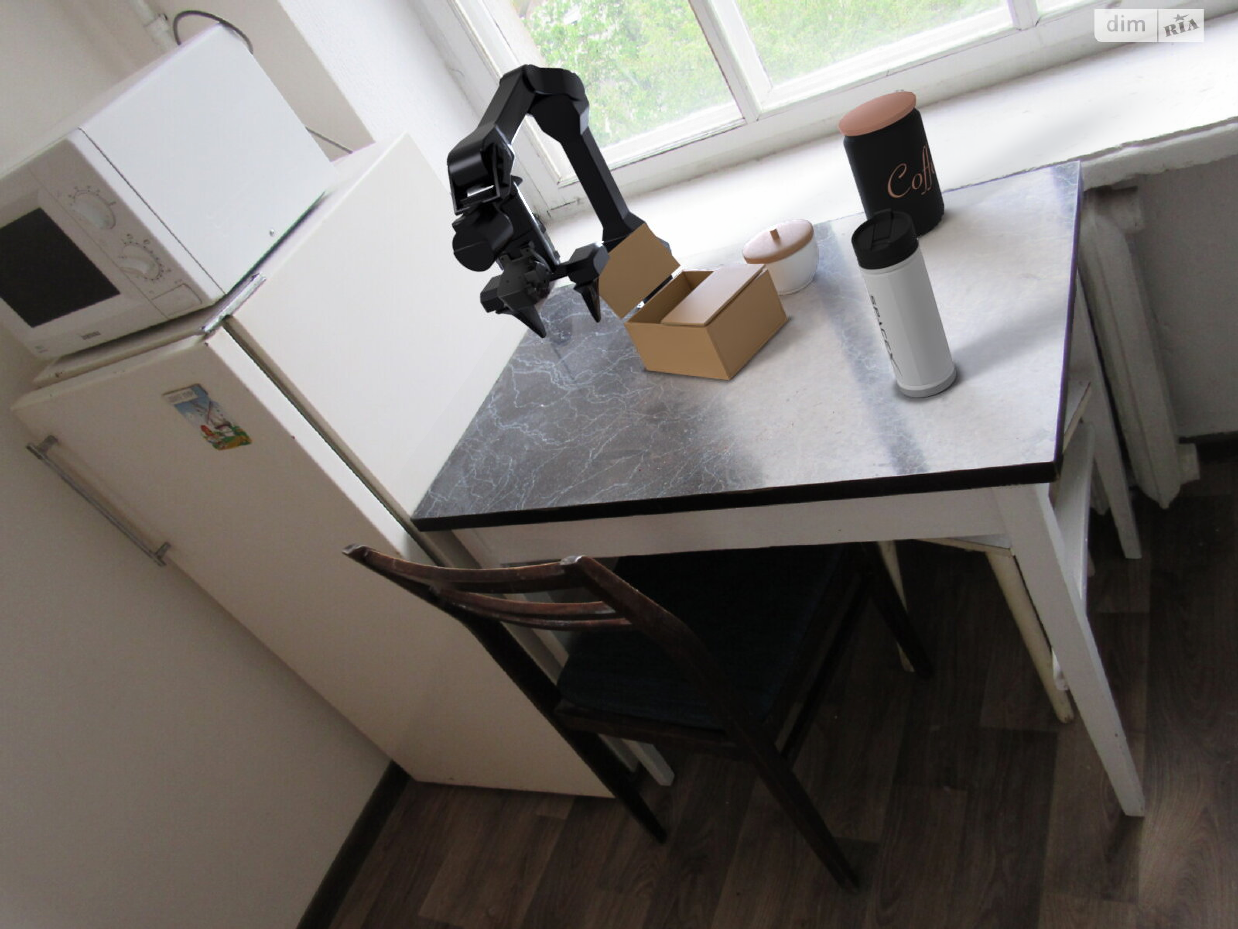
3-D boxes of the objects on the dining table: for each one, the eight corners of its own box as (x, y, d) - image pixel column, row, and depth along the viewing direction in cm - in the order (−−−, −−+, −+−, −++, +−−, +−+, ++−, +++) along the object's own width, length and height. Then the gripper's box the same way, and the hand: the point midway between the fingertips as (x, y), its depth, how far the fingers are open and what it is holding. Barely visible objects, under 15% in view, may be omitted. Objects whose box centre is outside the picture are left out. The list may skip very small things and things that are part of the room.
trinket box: (825, 255, 133) (805, 200, 128) (832, 286, 125) (811, 228, 120) (758, 280, 137) (737, 228, 132) (761, 312, 128) (738, 257, 123)
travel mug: (957, 358, 99) (913, 200, 88) (955, 392, 94) (908, 230, 84) (901, 368, 102) (852, 217, 92) (897, 402, 97) (845, 247, 87)
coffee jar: (907, 250, 123) (871, 131, 114) (858, 240, 132) (822, 129, 123) (963, 210, 125) (932, 89, 115) (911, 203, 134) (879, 90, 124)
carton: (647, 370, 130) (620, 319, 125) (703, 315, 136) (680, 264, 131) (729, 380, 117) (703, 323, 112) (788, 319, 123) (765, 263, 118)
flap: (621, 319, 125) (620, 320, 126) (680, 265, 131) (679, 266, 131) (583, 274, 124) (582, 275, 125) (644, 222, 130) (643, 223, 130)
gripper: (437, 281, 113) (498, 376, 121) (556, 240, 104) (612, 345, 112) (470, 241, 121) (525, 332, 129) (583, 199, 112) (634, 300, 120)
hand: (571, 329), depth 122 cm, fingers open, 9 cm apart
